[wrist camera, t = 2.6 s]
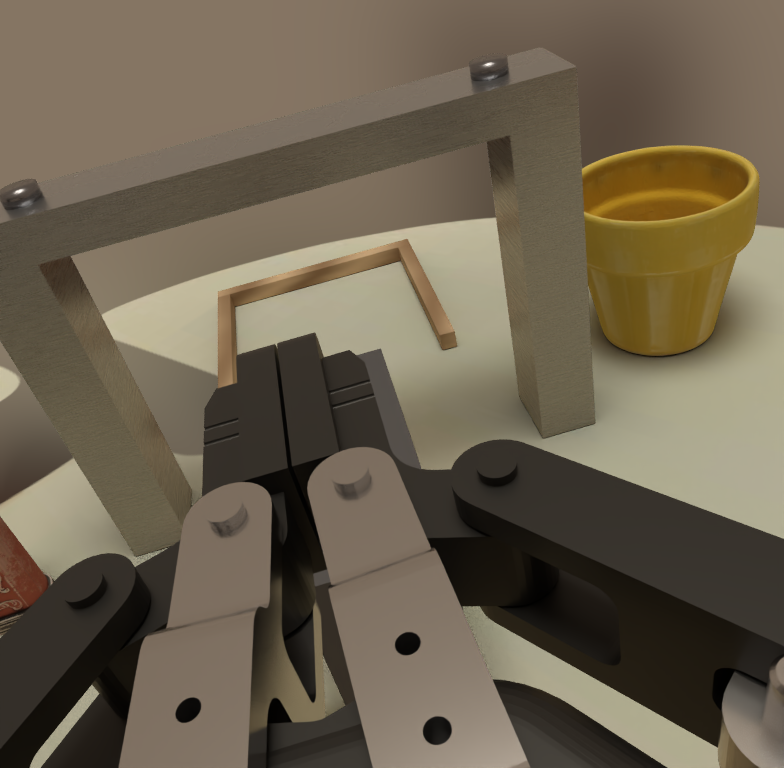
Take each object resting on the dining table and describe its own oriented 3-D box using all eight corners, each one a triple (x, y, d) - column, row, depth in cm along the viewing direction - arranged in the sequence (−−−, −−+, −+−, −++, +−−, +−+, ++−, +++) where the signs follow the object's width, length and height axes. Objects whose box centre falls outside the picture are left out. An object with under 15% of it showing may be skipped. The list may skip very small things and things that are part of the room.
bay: (224, 412, 49) (218, 398, 48) (222, 304, 61) (217, 291, 60) (457, 345, 49) (454, 331, 49) (410, 251, 62) (407, 239, 61)
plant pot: (569, 290, 52) (560, 155, 46) (729, 276, 49) (740, 132, 44) (572, 381, 44) (561, 233, 38) (762, 370, 42) (781, 209, 36)
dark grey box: (365, 749, 29) (295, 592, 23) (326, 516, 40) (270, 367, 34) (487, 712, 29) (448, 547, 23) (416, 490, 40) (376, 337, 34)
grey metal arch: (135, 556, 40) (-72, 226, 28) (141, 505, 43) (-43, 189, 32) (595, 423, 41) (575, 50, 29) (567, 382, 44) (540, 32, 33)
